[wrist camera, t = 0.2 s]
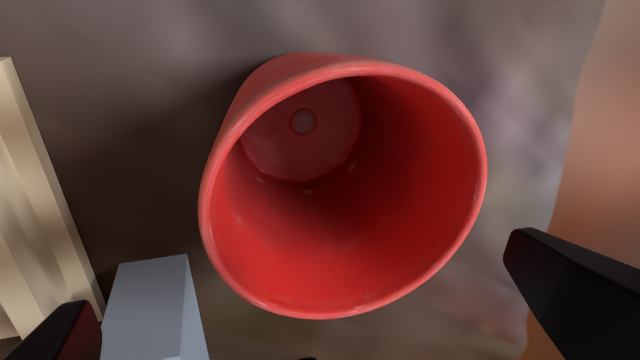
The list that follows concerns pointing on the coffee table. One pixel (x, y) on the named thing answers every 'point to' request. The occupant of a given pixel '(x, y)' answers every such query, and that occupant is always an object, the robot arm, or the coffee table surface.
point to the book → (153, 313)
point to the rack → (34, 224)
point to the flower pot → (338, 184)
